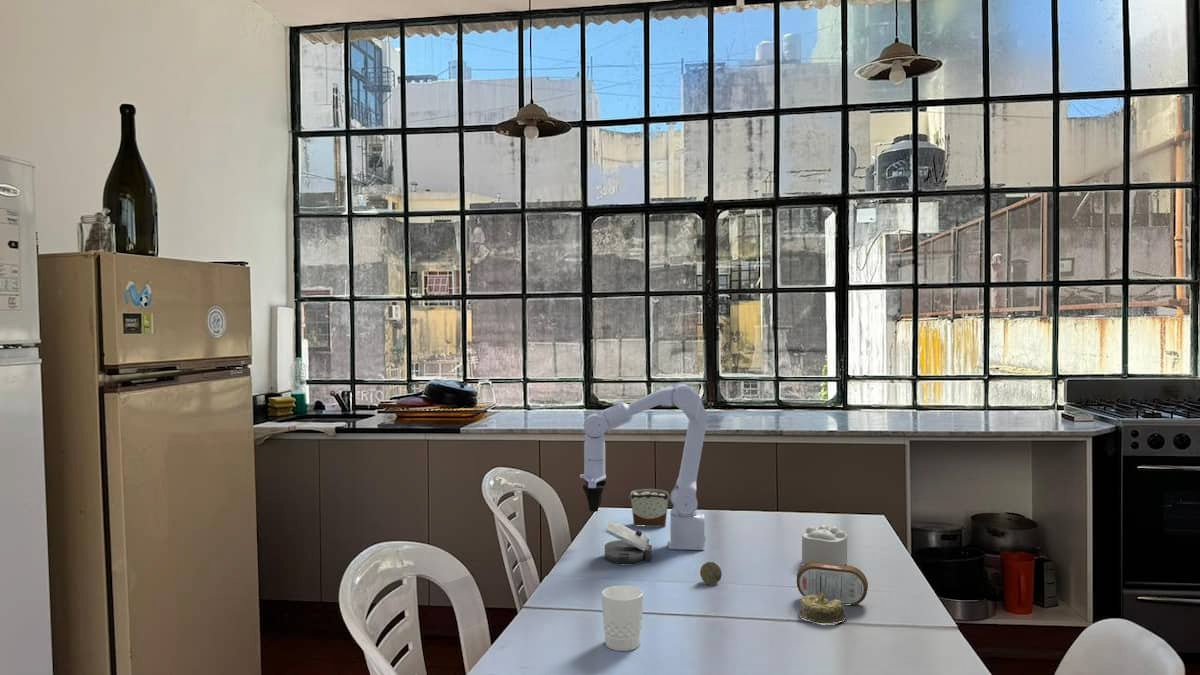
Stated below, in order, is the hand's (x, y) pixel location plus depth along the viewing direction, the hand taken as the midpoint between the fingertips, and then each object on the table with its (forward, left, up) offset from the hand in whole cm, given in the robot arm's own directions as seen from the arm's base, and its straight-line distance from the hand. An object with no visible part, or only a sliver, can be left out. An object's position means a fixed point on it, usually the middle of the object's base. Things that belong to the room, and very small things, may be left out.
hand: (594, 508), depth 214 cm
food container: (-14, -25, -11) cm, 31 cm away
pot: (-9, +9, -10) cm, 16 cm away
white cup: (-12, +62, -11) cm, 64 cm away
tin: (-56, +36, -11) cm, 67 cm away
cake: (-52, +44, -11) cm, 69 cm away
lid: (-10, +9, -5) cm, 14 cm away
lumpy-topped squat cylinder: (-60, +7, -11) cm, 61 cm away
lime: (-30, +26, -11) cm, 41 cm away
